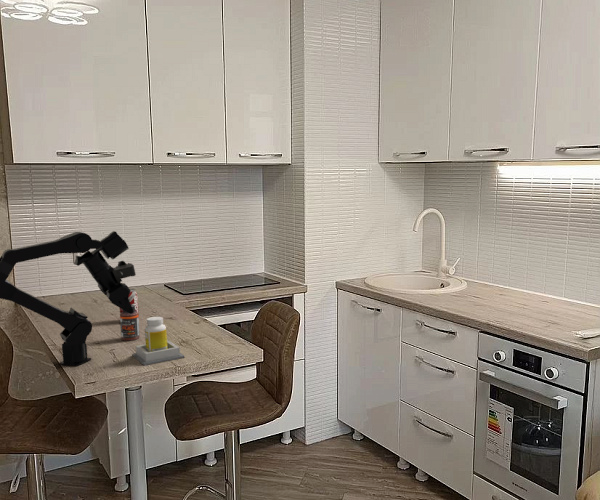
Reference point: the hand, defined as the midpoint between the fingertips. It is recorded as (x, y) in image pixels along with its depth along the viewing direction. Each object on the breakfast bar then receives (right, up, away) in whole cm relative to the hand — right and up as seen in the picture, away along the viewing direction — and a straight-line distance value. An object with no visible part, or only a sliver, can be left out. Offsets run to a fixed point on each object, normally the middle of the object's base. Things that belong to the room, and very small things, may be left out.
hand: (128, 309), depth 177 cm
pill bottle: (+10, -13, -5) cm, 17 cm away
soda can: (-12, -9, +42) cm, 44 cm away
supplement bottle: (-4, -12, +17) cm, 21 cm away
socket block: (+10, -13, -5) cm, 18 cm away
